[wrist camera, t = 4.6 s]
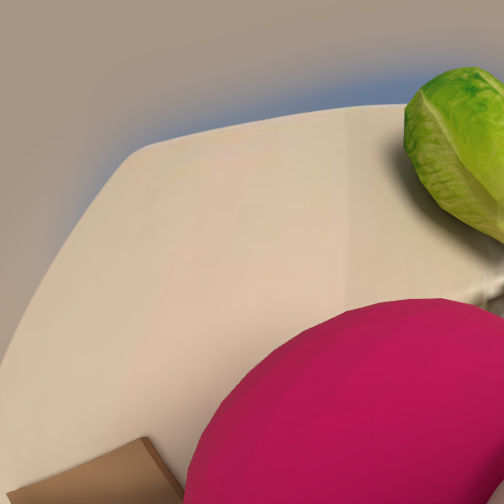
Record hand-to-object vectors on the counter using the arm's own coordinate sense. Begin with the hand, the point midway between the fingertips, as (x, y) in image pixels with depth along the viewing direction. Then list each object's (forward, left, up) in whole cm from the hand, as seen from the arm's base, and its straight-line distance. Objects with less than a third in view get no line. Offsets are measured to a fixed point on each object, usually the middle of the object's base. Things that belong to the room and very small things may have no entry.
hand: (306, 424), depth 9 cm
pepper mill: (-1, 0, -11) cm, 11 cm away
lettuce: (+6, -30, -13) cm, 33 cm away
